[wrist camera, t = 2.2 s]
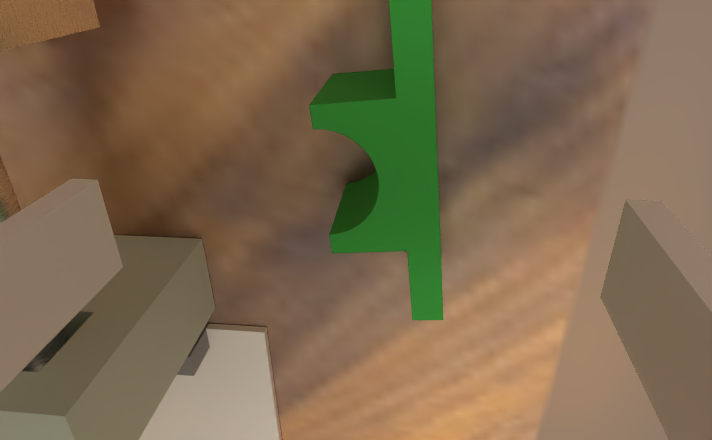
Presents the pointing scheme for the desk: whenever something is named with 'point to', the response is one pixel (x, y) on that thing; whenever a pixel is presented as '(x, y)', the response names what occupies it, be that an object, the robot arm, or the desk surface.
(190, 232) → the desk surface
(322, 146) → the desk surface
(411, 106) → the pipe clamp
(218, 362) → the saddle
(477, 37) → the desk surface
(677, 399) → the robot arm
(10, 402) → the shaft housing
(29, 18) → the shaft
